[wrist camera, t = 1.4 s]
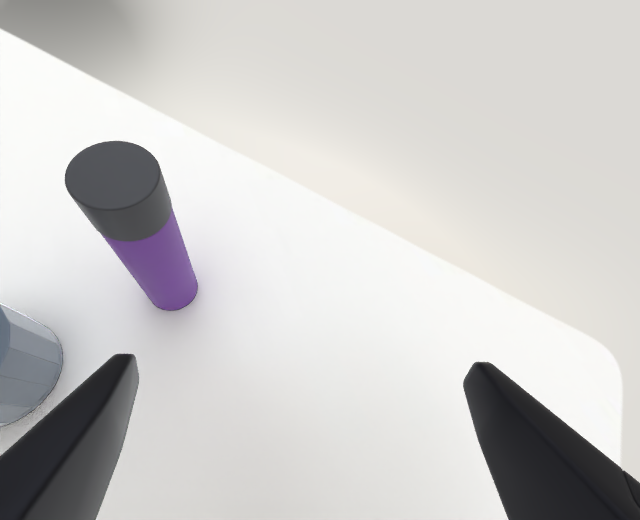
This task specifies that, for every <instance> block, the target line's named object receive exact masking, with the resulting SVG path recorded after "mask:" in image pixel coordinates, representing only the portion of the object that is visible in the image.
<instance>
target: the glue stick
mask: <svg viewBox="0 0 640 520" xmlns="http://www.w3.org/2000/svg"><path fill="white" fill-rule="evenodd" d="M65 185H66V188H67V190H68V192H69V194H70V195H71V197H72V198H73V199H74V201H75V202H76V203H77V205H78V206H79V207H80V209H81V210H82V211H83V212H84V214H85V215H86V216H87V218H88V219H89V220H90V222H91V223H92V224H93V226H94V227H95V228H96V229H97V230H98V231H99V232H100V233H101V234H102V236H103V237H104V238H105V240H106V241H107V242H108V244H109V245H110V246H111V248H112V249H113V250H114V252H115V253H116V254H117V256H118V257H119V258H120V260H121V261H122V262H123V264H124V265H125V266H126V268H127V269H128V270H129V272H130V273H131V274H132V276H133V277H134V278H135V280H136V281H137V282H138V284H139V285H140V286H141V288H142V289H143V290H144V292H145V293H146V295H147V296H148V297H149V299H150V300H151V301H152V302H153V304H154V305H156V306H157V307H159V308H161V309H164V310H177V309H181V308H183V307H185V306H186V305H188V304H189V303H190V302H191V301H192V300H193V299H194V297H195V295H196V293H197V287H198V285H197V280H196V277H195V274H194V271H193V268H192V266H191V263H190V260H189V257H188V254H187V251H186V248H185V245H184V242H183V239H182V236H181V233H180V230H179V227H178V224H177V221H176V218H175V215H174V212H173V209H172V205H171V200H170V197H169V193H168V190H167V187H166V184H165V181H164V178H163V175H162V172H161V169H160V166H159V164H158V162H157V160H156V159H155V157H154V156H153V155H152V154H151V153H150V152H149V151H147V150H146V149H144V148H143V147H141V146H139V145H136V144H133V143H129V142H123V141H109V142H102V143H98V144H95V145H92V146H90V147H88V148H86V149H84V150H82V151H81V152H80V153H78V154H77V155H76V156H75V157H74V158H73V159H72V160H71V162H70V163H69V165H68V167H67V169H66V173H65Z"/></svg>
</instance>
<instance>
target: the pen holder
mask: <svg viewBox="0 0 640 520" xmlns="http://www.w3.org/2000/svg"><path fill="white" fill-rule="evenodd" d="M62 362H63V354H62V348H61V345H60V342H59V340H58V338H57V337H56V335H55V334H54V333H53V332H52V331H51V330H50V329H49V328H47V327H46V326H44V325H42V324H40V323H39V322H37V321H35V320H34V319H32V318H30V317H28V316H26V315H24V314H22V313H20V312H18V311H16V310H14V309H12V308H10V307H8V306H6V305H4V304H2V303H0V427H2V426H5V425H7V424H10V423H12V422H14V421H17V420H19V419H20V418H22V417H24V416H25V415H27V414H28V413H30V412H31V411H33V410H34V409H35V408H36V407H37V406H38V405H40V404H41V403H42V401H43V400H44V399H45V398H46V397H47V396H48V395H49V393H50V392H51V391H52V389H53V387H54V386H55V384H56V382H57V380H58V378H59V375H60V372H61V368H62Z"/></svg>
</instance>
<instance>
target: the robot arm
mask: <svg viewBox="0 0 640 520" xmlns="http://www.w3.org/2000/svg"><path fill="white" fill-rule="evenodd" d="M138 384H139V373H138V368H137V363H136V358H135V356H134V355H133V354H116V355H114V356H112V357H111V358H110V359H109V360H108V361H107V362H106V363H104V364H103V365H102V366H101V367H100V368H99V369H98V370H97V371H95V372H94V373H93V374H92V375H91V376H90V377H89V378H88V379H87V380H85V381H84V382H83V383H82V384H81V385H80V386H79V387H78V388H76V389H75V390H74V391H73V392H72V393H71V394H70V395H69V396H67V397H66V398H65V399H64V400H63V401H62V402H61V403H60V404H59V405H57V406H56V407H55V408H54V409H53V410H52V411H51V412H50V413H48V414H47V415H46V416H45V417H44V418H43V419H42V420H41V421H39V422H38V423H37V424H36V425H35V426H34V427H33V428H32V429H31V430H29V431H28V432H27V433H26V434H25V435H24V436H23V437H22V438H20V439H19V440H18V441H17V442H16V443H15V444H14V445H13V446H11V447H10V448H9V449H8V450H7V451H6V452H5V453H4V454H3V455H1V456H0V520H96V517H97V515H98V512H99V509H100V507H101V504H102V501H103V499H104V496H105V493H106V491H107V488H108V485H109V483H110V480H111V477H112V475H113V472H114V469H115V467H116V464H117V461H118V459H119V456H120V453H121V450H122V447H123V443H124V439H125V436H126V432H127V428H128V424H129V420H130V416H131V412H132V408H133V404H134V400H135V396H136V392H137V388H138ZM463 387H464V391H465V395H466V399H467V402H468V406H469V409H470V413H471V417H472V420H473V424H474V427H475V431H476V434H477V437H478V441H479V444H480V446H481V449H482V452H483V454H484V457H485V460H486V462H487V465H488V467H489V470H490V473H491V475H492V478H493V480H494V483H495V486H496V488H497V491H498V493H499V496H500V499H501V501H502V504H503V506H504V509H505V512H506V514H507V517H508V519H509V520H640V483H639V482H638V481H637V480H635V479H634V478H633V477H632V476H630V475H629V474H628V473H627V472H625V471H622V469H621V468H620V467H619V466H618V465H617V464H615V463H614V462H613V461H612V460H611V459H609V458H608V457H607V456H606V455H604V454H603V453H602V452H601V451H599V450H598V449H597V448H596V447H594V446H593V445H592V444H591V443H589V442H588V441H587V440H586V439H584V438H583V437H582V436H581V435H579V434H578V433H577V432H576V431H575V430H573V429H572V428H571V427H570V426H568V425H567V424H566V423H565V422H563V421H562V420H561V419H560V418H558V417H557V416H556V415H555V414H553V413H552V412H551V411H550V410H548V409H547V408H546V407H545V406H544V405H542V404H541V403H540V402H539V401H537V400H536V399H535V398H534V397H532V396H531V395H530V394H529V393H527V392H526V391H525V390H524V389H522V388H521V387H520V386H519V385H517V384H516V383H515V382H514V381H513V380H511V379H510V378H509V377H508V376H506V375H505V374H504V373H503V372H501V371H500V370H499V369H498V368H496V367H495V366H494V365H493V364H491V363H489V362H475V363H474V364H473V365H472V367H471V369H470V370H469V372H468V374H467V375H466V377H465V379H464V382H463Z"/></svg>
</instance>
